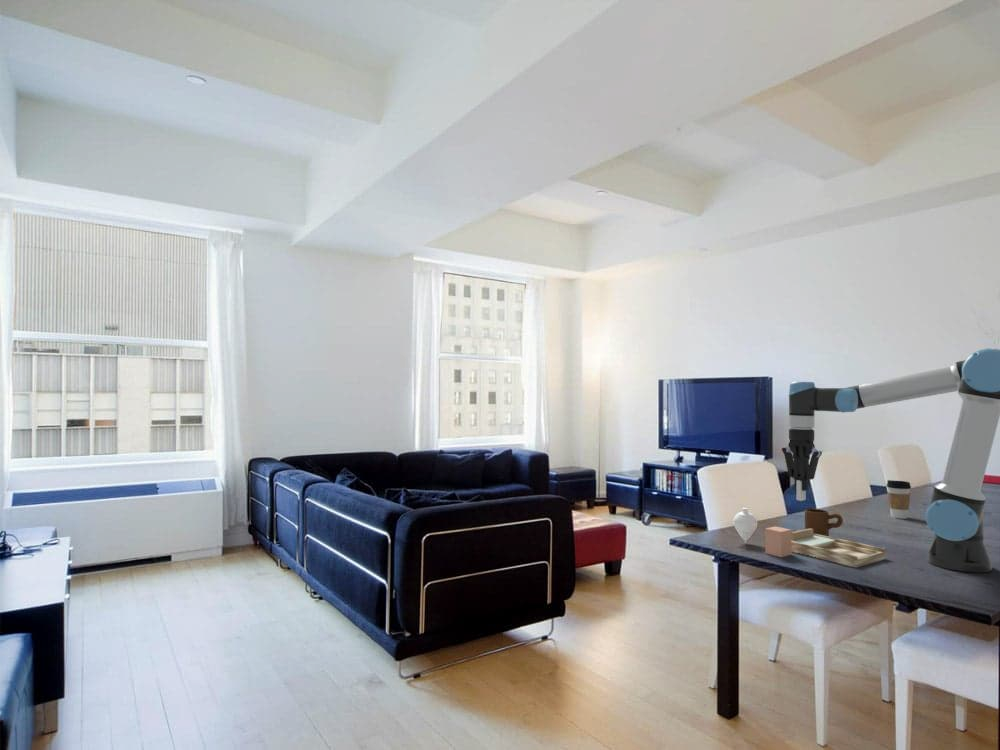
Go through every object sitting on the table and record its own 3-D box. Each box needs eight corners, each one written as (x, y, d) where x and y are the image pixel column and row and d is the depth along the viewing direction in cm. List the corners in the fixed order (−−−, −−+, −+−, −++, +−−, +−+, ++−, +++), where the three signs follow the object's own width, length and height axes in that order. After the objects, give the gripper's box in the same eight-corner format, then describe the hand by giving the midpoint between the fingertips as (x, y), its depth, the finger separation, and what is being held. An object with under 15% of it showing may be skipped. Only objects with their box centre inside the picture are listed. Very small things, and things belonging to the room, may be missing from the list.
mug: (844, 538, 210) (844, 511, 210) (841, 542, 204) (840, 515, 204) (807, 533, 217) (807, 507, 217) (802, 537, 211) (802, 511, 211)
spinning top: (728, 541, 205) (728, 507, 206) (745, 539, 208) (745, 505, 209) (745, 547, 198) (744, 511, 199) (762, 544, 201) (762, 509, 201)
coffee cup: (882, 515, 248) (881, 479, 248) (900, 514, 249) (900, 479, 249) (897, 519, 239) (897, 482, 240) (916, 519, 240) (916, 482, 241)
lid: (835, 541, 196) (835, 532, 196) (809, 548, 189) (809, 537, 189) (795, 533, 208) (795, 524, 208) (769, 538, 201) (769, 529, 201)
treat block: (791, 554, 189) (791, 529, 189) (781, 557, 186) (780, 531, 186) (775, 550, 194) (775, 526, 194) (765, 553, 191) (765, 528, 191)
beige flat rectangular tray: (885, 558, 184) (885, 548, 184) (856, 567, 175) (855, 556, 175) (794, 538, 210) (794, 529, 210) (764, 545, 201) (764, 535, 201)
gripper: (827, 429, 191) (827, 502, 191) (790, 426, 202) (790, 495, 202) (813, 430, 187) (812, 504, 187) (776, 427, 199) (776, 497, 199)
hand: (801, 499), depth 195 cm, fingers closed
